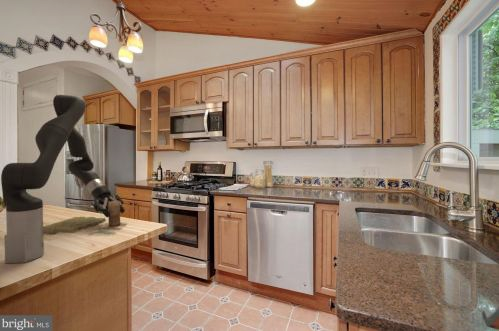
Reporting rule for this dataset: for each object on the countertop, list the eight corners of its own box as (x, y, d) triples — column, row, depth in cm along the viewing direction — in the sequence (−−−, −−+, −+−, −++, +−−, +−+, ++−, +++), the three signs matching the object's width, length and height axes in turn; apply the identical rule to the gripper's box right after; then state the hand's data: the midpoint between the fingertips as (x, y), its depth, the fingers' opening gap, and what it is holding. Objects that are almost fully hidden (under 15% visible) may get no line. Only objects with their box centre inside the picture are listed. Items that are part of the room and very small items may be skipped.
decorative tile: (38, 234, 106) (38, 226, 105) (75, 221, 126) (75, 215, 125) (75, 236, 104) (75, 228, 104) (107, 223, 124) (107, 216, 123)
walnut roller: (117, 226, 114) (117, 202, 113) (106, 227, 113) (106, 202, 112) (121, 223, 118) (121, 200, 118) (111, 224, 118) (111, 200, 117)
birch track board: (112, 237, 102) (112, 235, 102) (85, 238, 100) (85, 236, 100) (129, 224, 120) (129, 222, 120) (106, 225, 119) (106, 223, 119)
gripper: (89, 186, 110) (108, 212, 107) (114, 183, 124) (131, 206, 121) (81, 196, 112) (99, 222, 109) (107, 192, 126) (123, 215, 123)
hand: (116, 214), depth 115 cm, fingers open, 8 cm apart
